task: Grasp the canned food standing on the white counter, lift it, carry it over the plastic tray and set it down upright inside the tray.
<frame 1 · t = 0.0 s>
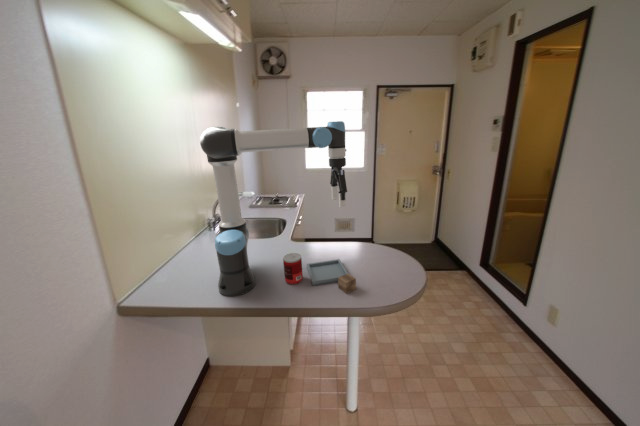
hand: (338, 203, 130), 28 cm above the counter, fingers open, 13 cm apart
canned food: (294, 280, 120), on the counter
walnut block: (347, 288, 111), on the counter
tray: (327, 273, 123), on the counter
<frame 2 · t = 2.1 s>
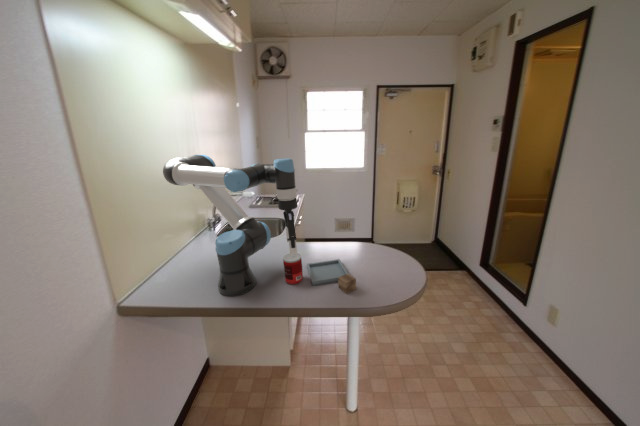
hand: (291, 247, 115), 15 cm above the counter, fingers open, 13 cm apart
nothing on the counter moved.
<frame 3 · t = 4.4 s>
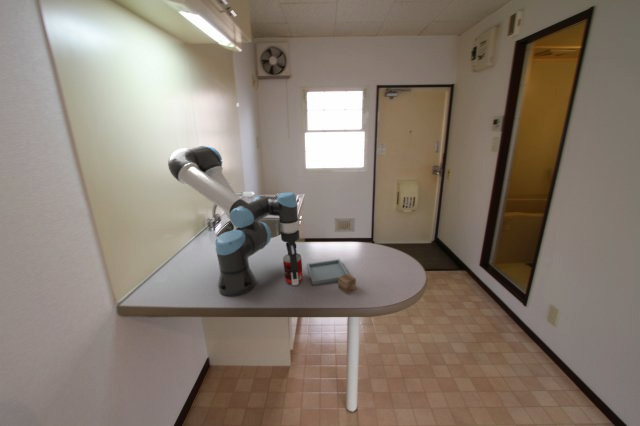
hand: (294, 279, 120), 0 cm above the counter, fingers closed on canned food, 8 cm apart
canned food: (294, 280, 120), on the counter, touching gripper
everything else where it was.
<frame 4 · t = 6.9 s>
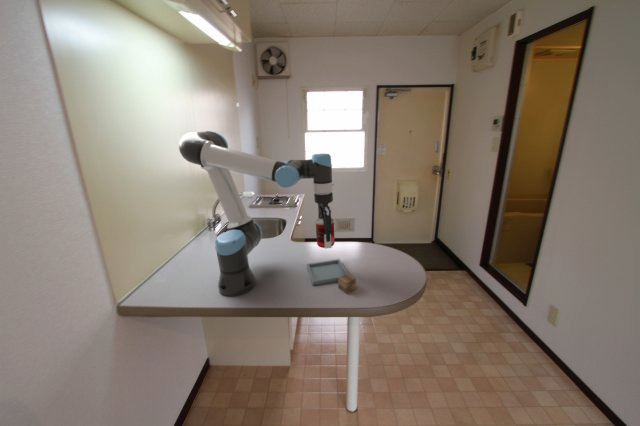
hand: (325, 243, 119), 15 cm above the counter, fingers closed on canned food, 8 cm apart
canned food: (325, 244, 119), point 14 cm above the counter, touching gripper
everything else where it was.
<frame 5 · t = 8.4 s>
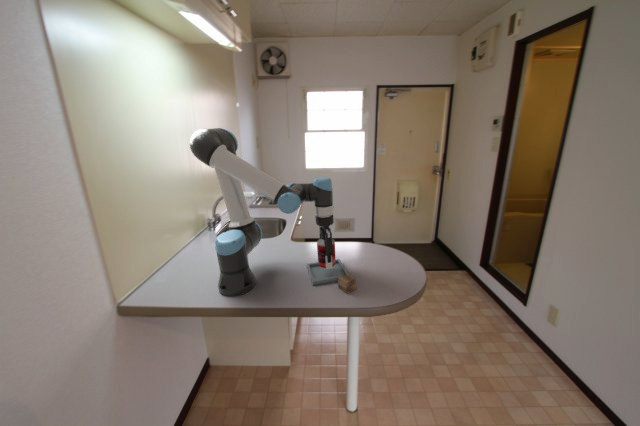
hand: (326, 263, 122), 5 cm above the counter, fingers closed on canned food, 8 cm apart
canned food: (327, 264, 122), point 5 cm above the counter, touching gripper
everything else where it was.
when the fingers open (3 cm above the counter, at t = 9.6 s): canned food drops 2 cm, resting on tray.
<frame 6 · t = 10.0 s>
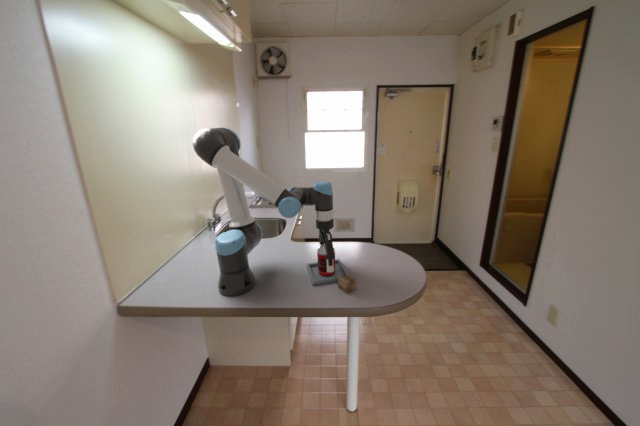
hand: (326, 264, 122), 5 cm above the counter, fingers open, 12 cm apart
canned food: (327, 272, 123), resting on tray
everything else where it was.
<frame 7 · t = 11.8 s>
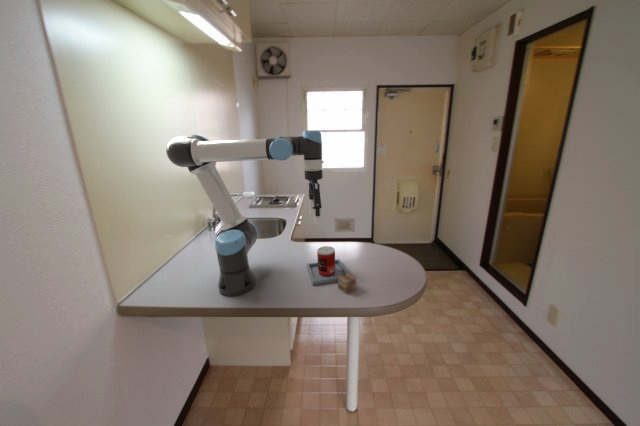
hand: (315, 218, 121), 25 cm above the counter, fingers open, 13 cm apart
nothing on the counter moved.
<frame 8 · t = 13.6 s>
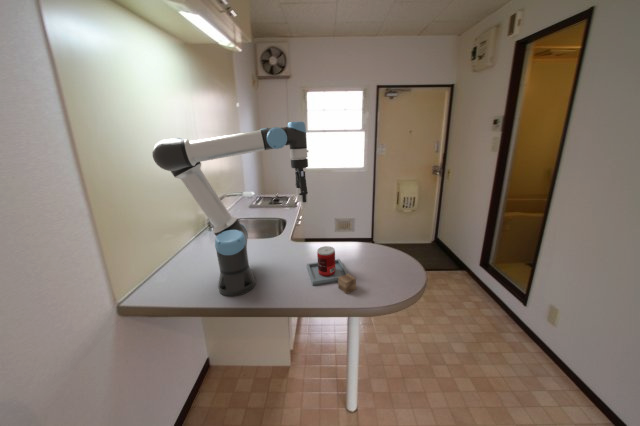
hand: (302, 205, 127), 29 cm above the counter, fingers open, 13 cm apart
nothing on the counter moved.
at the end: canned food inside the target area on the tray (0.0 cm from its centre), point 0.4 cm above the tray's base; canned food tilted 0°; the gripper is holding nothing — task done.
